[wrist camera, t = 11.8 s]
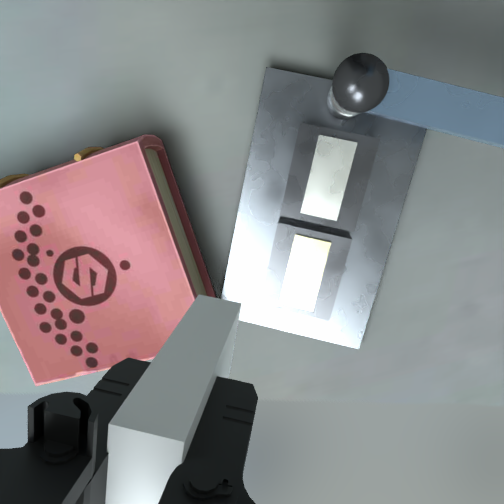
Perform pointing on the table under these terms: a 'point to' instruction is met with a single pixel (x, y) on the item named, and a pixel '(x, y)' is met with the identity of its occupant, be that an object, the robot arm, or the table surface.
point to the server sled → (317, 210)
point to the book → (96, 260)
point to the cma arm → (417, 100)
